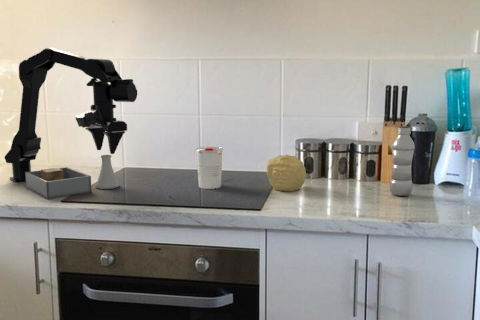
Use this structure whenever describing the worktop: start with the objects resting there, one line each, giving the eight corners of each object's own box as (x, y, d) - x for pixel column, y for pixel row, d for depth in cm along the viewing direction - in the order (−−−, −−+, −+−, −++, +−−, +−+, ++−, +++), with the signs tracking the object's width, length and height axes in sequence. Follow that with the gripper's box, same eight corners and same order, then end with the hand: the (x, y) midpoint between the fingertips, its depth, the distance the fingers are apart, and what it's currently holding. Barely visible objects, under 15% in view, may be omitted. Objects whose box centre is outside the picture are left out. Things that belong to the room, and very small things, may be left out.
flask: (113, 190, 162) (112, 158, 160) (91, 189, 163) (89, 157, 161) (123, 185, 169) (121, 154, 167) (102, 184, 170) (100, 153, 168)
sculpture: (262, 191, 159) (262, 156, 158) (275, 183, 170) (275, 150, 168) (299, 195, 155) (299, 159, 153) (309, 186, 166) (310, 152, 164)
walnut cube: (47, 188, 161) (46, 172, 160) (41, 185, 165) (40, 169, 164) (63, 185, 164) (62, 170, 164) (57, 183, 168) (56, 167, 167)
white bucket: (189, 186, 166) (188, 148, 164) (207, 182, 173) (207, 145, 171) (212, 191, 160) (211, 152, 158) (230, 186, 166) (230, 148, 164)
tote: (26, 188, 164) (25, 172, 163) (67, 182, 172) (66, 167, 172) (47, 199, 150) (46, 182, 150) (91, 192, 159) (90, 175, 158)
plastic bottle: (413, 193, 157) (417, 126, 153) (410, 199, 151) (414, 129, 147) (391, 191, 159) (394, 125, 156) (387, 196, 153) (390, 127, 150)
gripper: (65, 100, 163) (68, 150, 166) (91, 104, 149) (94, 158, 152) (99, 99, 170) (101, 147, 173) (127, 102, 156) (129, 154, 159)
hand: (105, 151), depth 164 cm, fingers open, 9 cm apart
